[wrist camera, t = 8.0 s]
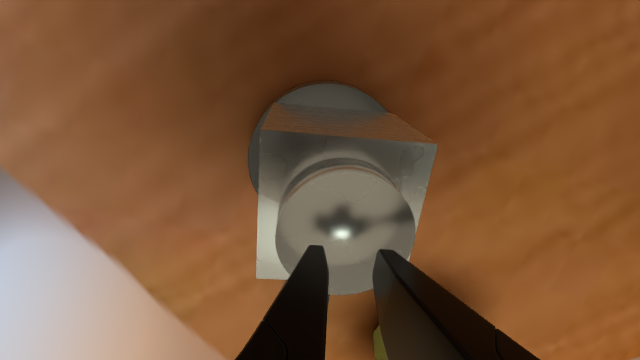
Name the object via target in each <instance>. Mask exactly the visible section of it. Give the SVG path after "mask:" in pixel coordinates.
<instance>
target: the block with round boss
mask: <svg viewBox="0 0 640 360" xmlns="http://www.w3.org/2000/svg"><path fill="white" fill-rule="evenodd" d="M437 146H438V144H437V143H435V142H434V141H432V140H431V139H429V138H428V137H426V136H425V135H424V134H422V133H421V132H419V131H418V130H416V129H415V128H413V127H412V126H410V125H409V124H408V123H406V122H405V121H403V120H402V119H400V118H399V117H397V116H396V115H394V114H393V113H384V112H374V111H363V110H352V109H341V108H330V107H319V106H308V105H297V104H286V103H275V102H274V103H273V105H272V107H271V109H270V111H269V113H268V115H267V117H266V119H265V121H264V123H263V125H262V127H261V129H260V156H259V192H258V228H257V263H256V278H257V279H282V280H287V279H288V278H289V276H290V275H291V273H292V271H293V270H294V268H295V267H296V265H297V263H298V262H299V260H300V259H301V257H302V255H303V254H304V252H305V251H306V249H307V247H308V246H309V245H322V246H323V247H324V250H325V254H326V259H327V264H328V269H329V289H328V294H331V295H350V294H356V293H361V292H364V291H367V290H370V289H373V281H372V273H373V268H374V263H375V259H376V254H377V251H378V250H379V249H391V250H394V251H395V252H397V253H398V254H399V255H401V256H402V257H403V258H405V259H406V260H407V261H409V258H410V254H411V251H412V248H413V245H414V241H415V234H416V230H417V226H418V222H419V218H420V214H421V210H422V206H423V202H424V198H425V194H426V190H427V186H428V182H429V178H430V174H431V170H432V166H433V162H434V158H435V154H436V150H437Z"/></svg>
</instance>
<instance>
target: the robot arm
mask: <svg viewBox="0 0 640 360" xmlns="http://www.w3.org/2000/svg"><path fill="white" fill-rule="evenodd" d="M372 281H373V288H374V294H375V301H376V307H377V313H378V320H379V326H380V331H381V335H382V339H383V343H384V347H385V350H386V354H387V357H388V360H540V359H539V358H537V357H536V356H534V355H533V354H532V353H530V352H529V351H527V350H526V349H525V348H523V347H522V346H521V345H519V344H518V343H516V342H515V341H514V340H512V339H511V338H510V337H508V336H507V335H506V334H504V333H503V332H502V331H500V330H499V329H496V328H495V326H494V325H492V324H491V323H490V322H488V321H487V320H486V319H484V318H483V317H482V316H480V315H479V314H478V313H476V312H475V311H474V310H472V309H471V308H470V307H468V306H467V305H466V304H464V303H463V302H462V301H460V300H459V299H458V298H456V297H455V296H454V295H452V294H451V293H450V292H448V291H447V290H446V289H444V288H443V287H442V286H440V285H439V284H438V283H436V282H435V281H434V280H432V279H431V278H430V277H429V276H427V275H426V274H425V273H423V272H422V271H421V270H419V269H418V268H417V267H415V266H414V265H413V264H411V263H410V262H409V261H407V260H406V259H405V258H403V257H402V256H401V255H399V254H398V253H397V252H395V251H394V250H391V249H379V250H378V251H377V254H376V259H375V263H374V268H373V273H372ZM328 289H329V269H328V264H327V259H326V254H325V250H324V247H323V246H322V245H309V246H308V247H307V249H306V251H305V252H304V254H303V255H302V257H301V259H300V260H299V262H298V263H297V265H296V267H295V268H294V270H293V271H292V273H291V275H290V276H289V278H288V279H287V281H286V283H285V284H284V286H283V287H282V289H281V291H280V292H279V294H278V295H277V297H276V299H275V300H274V302H273V303H272V305H271V307H270V308H269V310H268V311H267V313H266V315H265V316H264V318H263V321H261V322H260V324H259V326H258V327H257V329H256V330H255V332H254V333H253V335H252V336H251V338H250V339H249V341H248V342H247V344H246V345H245V347H244V348H243V350H242V351H241V352H240V354H239V355H238V356H237V357H236V359H235V360H325V345H326V326H327V308H328Z"/></svg>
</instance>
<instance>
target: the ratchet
mask: <svg viewBox="0 0 640 360" xmlns="http://www.w3.org/2000/svg"><path fill="white" fill-rule="evenodd" d="M274 102H275V103H286V104H297V105H308V106H319V107H330V108H341V109H352V110H363V111H374V112H384V113H388V112H387V111H386V110H385V108H384V107H383V106H382V105H380V104H379V103H378V102H377V101H376V100H375V99H373V98H372V97H370V96H369V95H367V94H366V93H364V92H363V91H361V90H360V89H358V88H356V87H354V86H352V85H349V84H346V83H343V82H338V81H331V80H319V81H311V82H307V83H303V84H300V85H297V86H295V87H293V88H291V89H289V90H287V91H285V92H284V93H283V94H281V95H280V96H279V97H277V98H276V99H275V100H274V101H273V102H272V103H271V104H270V106H269V107H268V108H267V109H266V111H265V112H264V114H263V116H262V117H261V119H260V121H259V123H258V124H257V126H256V128H255V130H254V133H253V135H252V138H251V142H250V146H249V154H248V167H249V173H250V178H251V181H252V184H253V186H254V188H255V190H256V192H257V194H258V192H259V156H260V129H261V127H262V125H263V123H264V121H265V119H266V117H267V115H268V113H269V111H270V109H271V107H272V105H273V103H274ZM329 296H330V294H328V302H329ZM327 309H328V308H327Z"/></svg>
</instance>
